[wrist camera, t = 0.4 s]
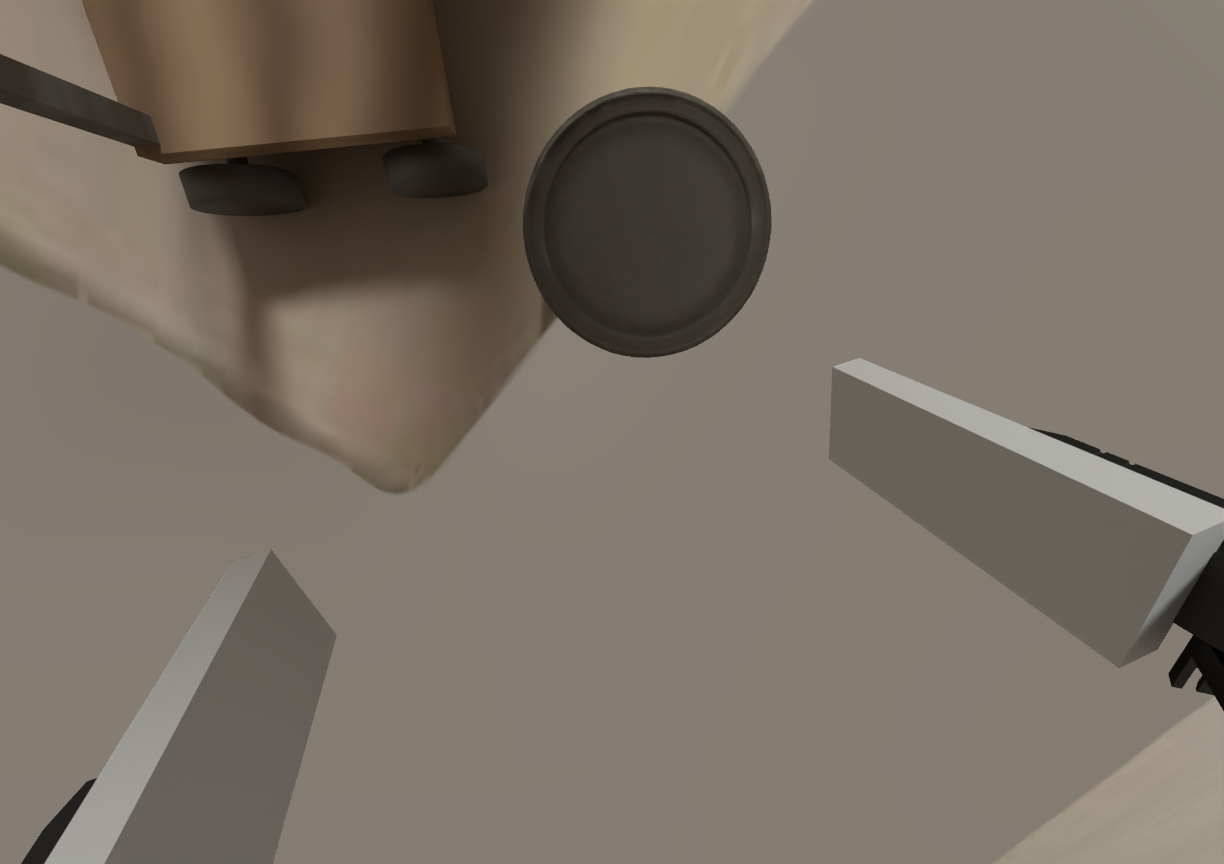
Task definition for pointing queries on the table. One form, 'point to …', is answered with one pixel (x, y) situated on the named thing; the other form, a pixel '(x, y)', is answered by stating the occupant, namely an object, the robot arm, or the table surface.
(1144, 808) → the table surface
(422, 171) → the trolley
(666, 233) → the coffee can
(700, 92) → the table surface
